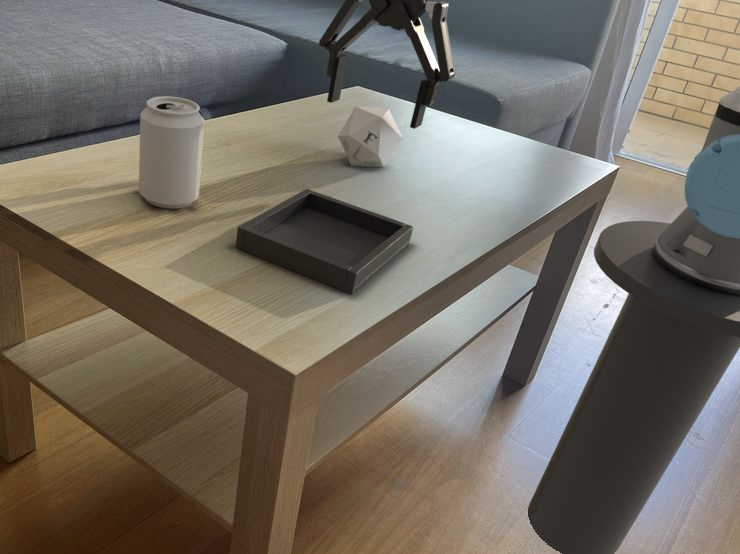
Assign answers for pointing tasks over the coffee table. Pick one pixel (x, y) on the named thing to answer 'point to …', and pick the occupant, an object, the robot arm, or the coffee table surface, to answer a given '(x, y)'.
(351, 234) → the dark grey shallow tray
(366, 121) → the die
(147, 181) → the can
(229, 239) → the coffee table surface
